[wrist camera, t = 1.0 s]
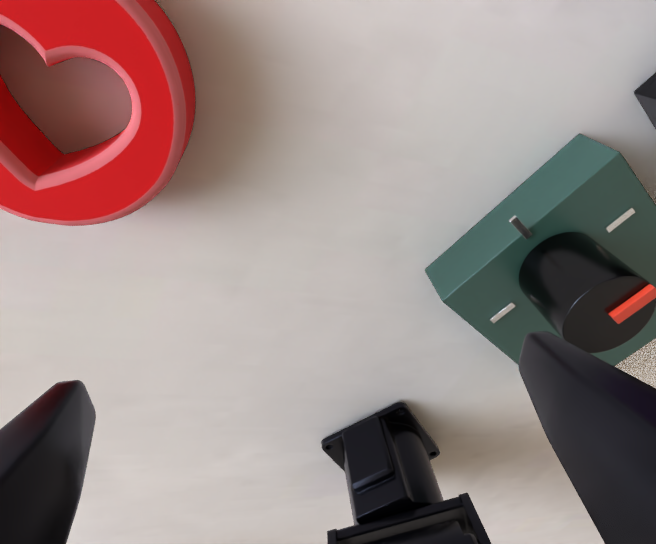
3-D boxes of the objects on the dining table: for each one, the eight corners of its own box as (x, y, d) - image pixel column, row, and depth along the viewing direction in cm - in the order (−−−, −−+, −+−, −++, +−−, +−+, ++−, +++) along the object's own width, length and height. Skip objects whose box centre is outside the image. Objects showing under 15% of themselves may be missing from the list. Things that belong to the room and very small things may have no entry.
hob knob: (544, 314, 24) (595, 372, 20) (502, 272, 22) (549, 328, 19) (612, 263, 23) (678, 315, 19) (572, 214, 21) (637, 262, 17)
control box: (537, 367, 31) (563, 404, 28) (411, 258, 25) (428, 291, 22) (675, 267, 27) (720, 298, 25) (568, 116, 22) (611, 135, 19)
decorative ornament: (-7, 205, 21) (-47, 237, 18) (-121, -60, 15) (-201, -69, 13) (211, 192, 22) (204, 222, 19) (171, -62, 16) (153, -70, 14)
